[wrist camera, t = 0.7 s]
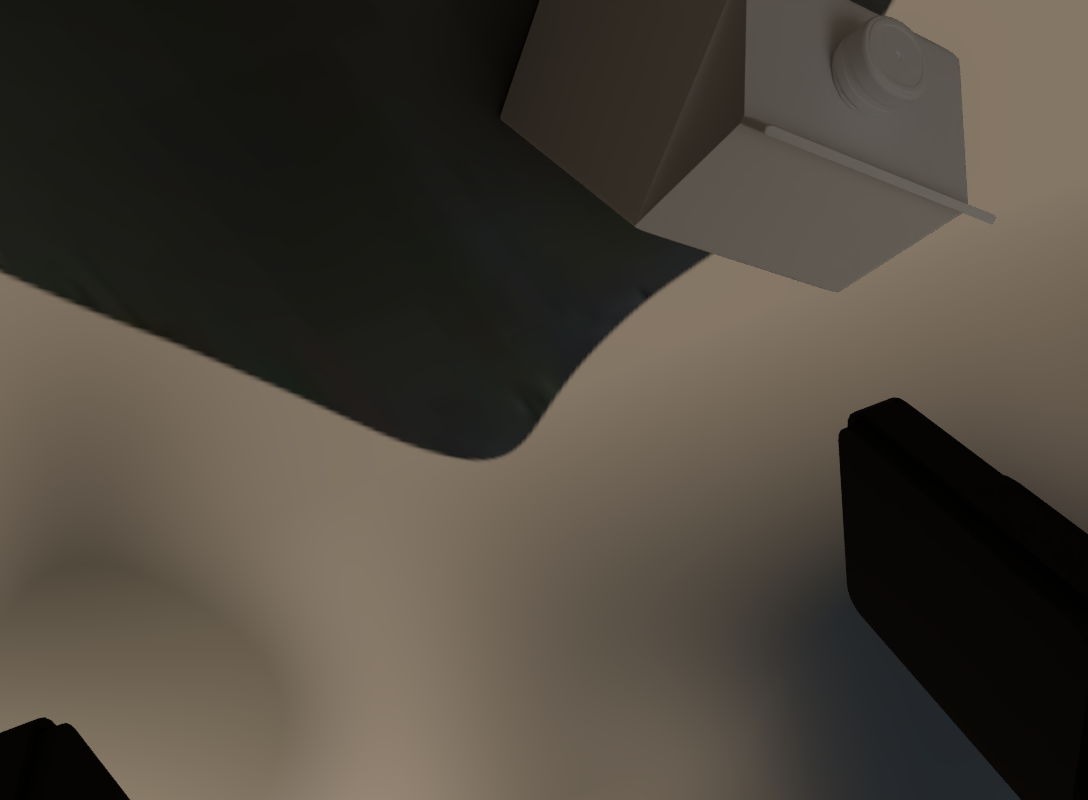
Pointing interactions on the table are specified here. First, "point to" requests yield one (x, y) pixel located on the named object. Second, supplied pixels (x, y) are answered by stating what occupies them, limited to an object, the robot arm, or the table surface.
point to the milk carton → (751, 126)
